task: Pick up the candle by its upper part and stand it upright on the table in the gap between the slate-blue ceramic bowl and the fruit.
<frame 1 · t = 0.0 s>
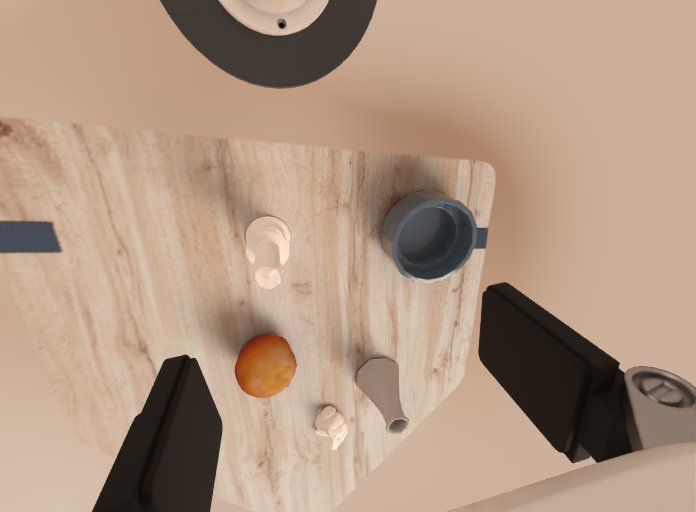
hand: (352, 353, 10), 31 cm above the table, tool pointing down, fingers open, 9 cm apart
bowl: (419, 230, 44), on the table
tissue: (330, 420, 56), on the table
flask: (376, 373, 53), on the table
fruit: (266, 348, 47), on the table
candle: (268, 236, 40), on the table
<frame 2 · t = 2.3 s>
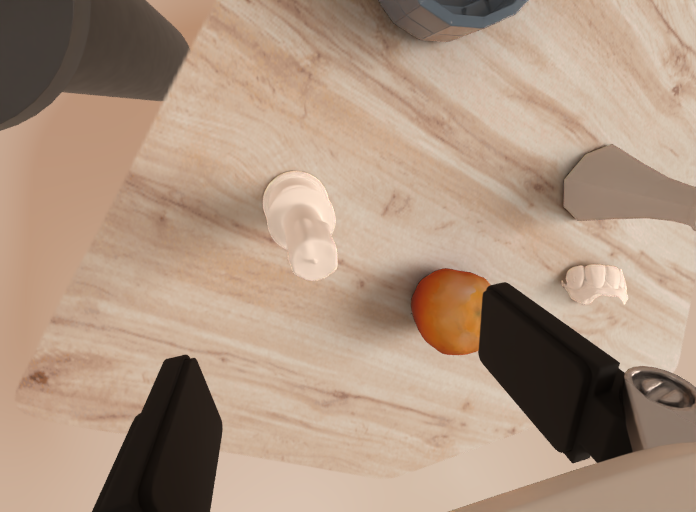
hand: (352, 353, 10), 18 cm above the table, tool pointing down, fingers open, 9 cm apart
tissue: (586, 278, 38), on the table
flask: (589, 183, 33), on the table
fruit: (437, 292, 34), on the table
candle: (296, 203, 27), on the table
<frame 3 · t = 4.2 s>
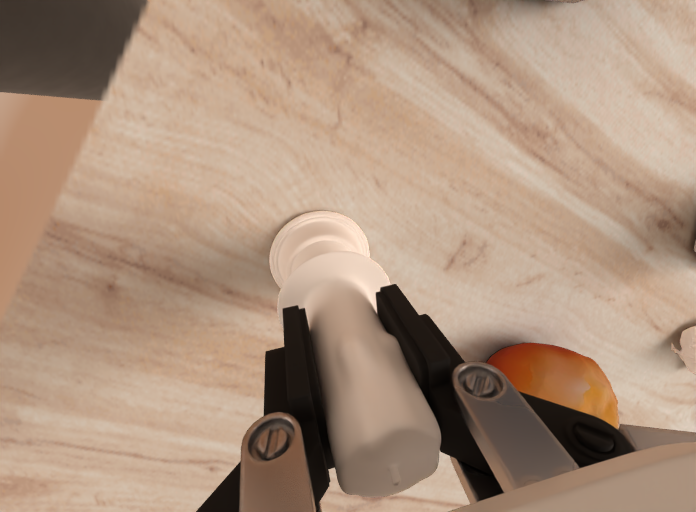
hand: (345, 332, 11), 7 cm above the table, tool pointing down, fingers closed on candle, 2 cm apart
fruit: (509, 366, 24), on the table
candle: (320, 256, 17), on the table, touching gripper
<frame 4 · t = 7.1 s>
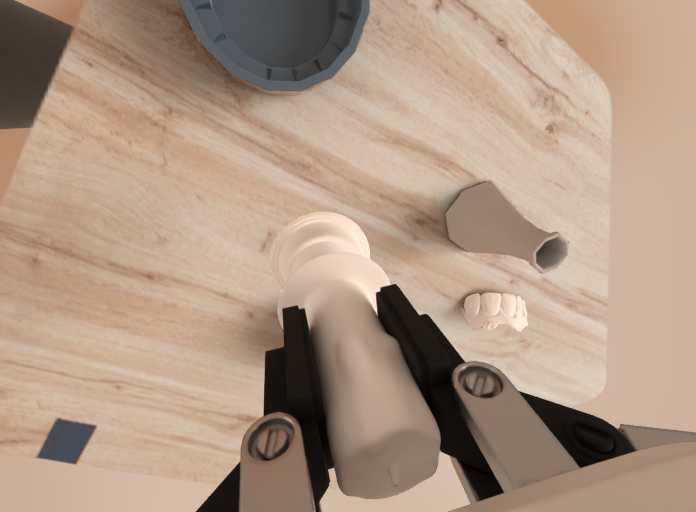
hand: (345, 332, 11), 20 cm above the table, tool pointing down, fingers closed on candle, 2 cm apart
bowl: (276, 7, 23), on the table
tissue: (488, 304, 39), on the table
flask: (475, 216, 34), on the table
candle: (320, 257, 17), point 13 cm above the table, touching gripper
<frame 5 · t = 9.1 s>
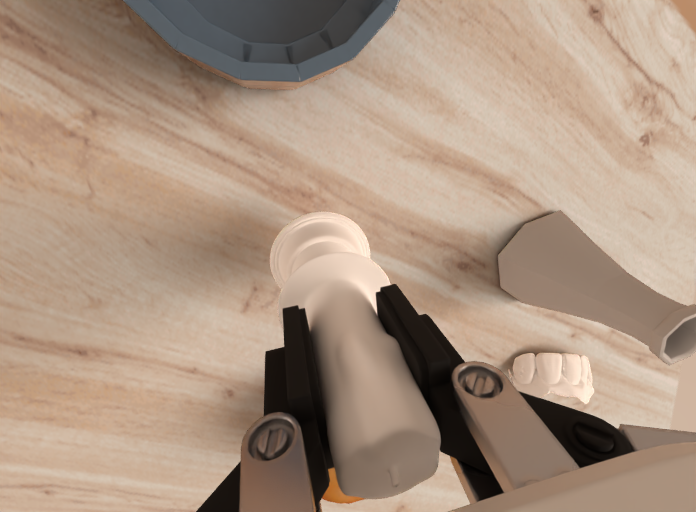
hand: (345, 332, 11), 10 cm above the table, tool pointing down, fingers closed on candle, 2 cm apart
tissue: (541, 363, 30), on the table
flask: (535, 256, 25), on the table
fruit: (340, 393, 26), on the table
candle: (320, 257, 17), point 3 cm above the table, touching gripper
when the fingers open (7 cm above the table, at t = 10.2 s): candle stays where it is, on the table.
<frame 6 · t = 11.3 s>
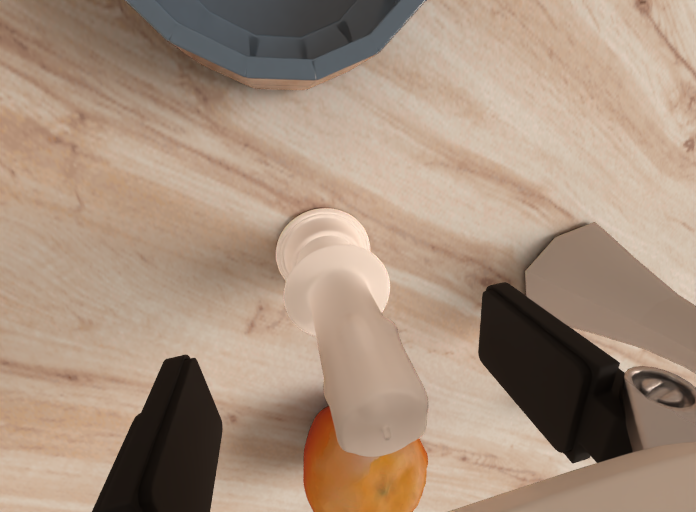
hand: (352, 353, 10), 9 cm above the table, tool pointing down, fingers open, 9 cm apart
flask: (565, 271, 23), on the table
fruit: (351, 417, 24), on the table
candle: (323, 251, 18), on the table
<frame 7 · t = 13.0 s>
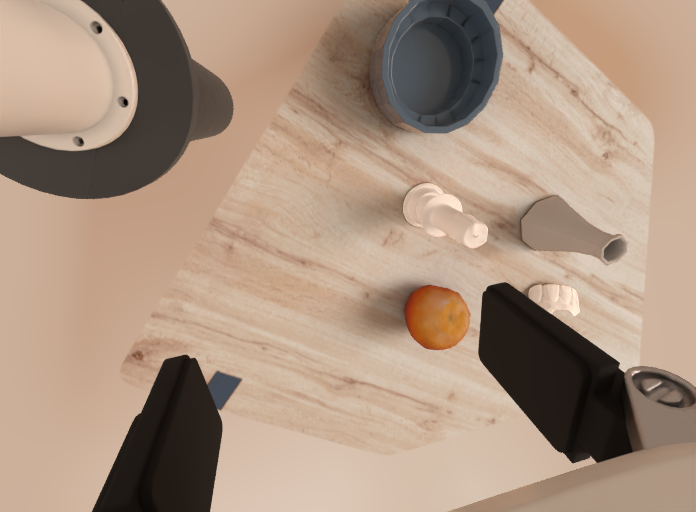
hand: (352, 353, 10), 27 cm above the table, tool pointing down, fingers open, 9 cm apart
bowl: (421, 72, 33), on the table
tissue: (546, 295, 48), on the table
flask: (542, 222, 43), on the table
fruit: (425, 302, 44), on the table
candle: (423, 205, 39), on the table
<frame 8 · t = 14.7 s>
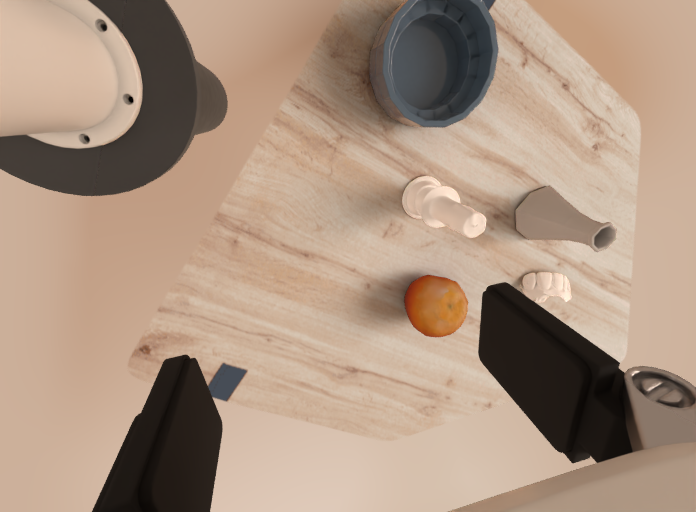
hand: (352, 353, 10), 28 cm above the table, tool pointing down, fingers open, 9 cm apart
bowl: (419, 68, 34), on the table
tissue: (539, 282, 50), on the table
flask: (536, 212, 44), on the table
fruit: (423, 292, 46), on the table
candle: (421, 197, 40), on the table
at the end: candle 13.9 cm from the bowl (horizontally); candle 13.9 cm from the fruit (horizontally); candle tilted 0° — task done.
